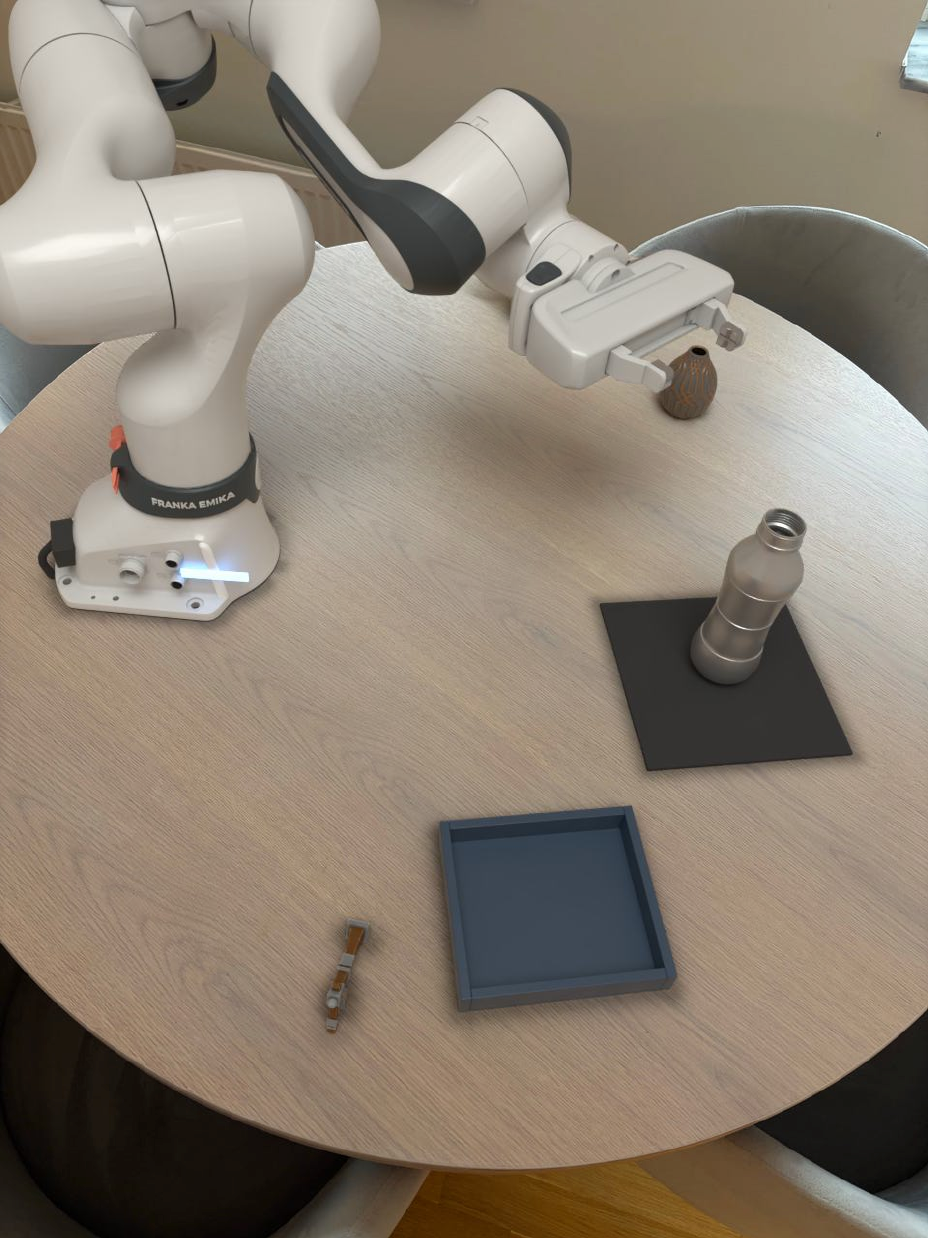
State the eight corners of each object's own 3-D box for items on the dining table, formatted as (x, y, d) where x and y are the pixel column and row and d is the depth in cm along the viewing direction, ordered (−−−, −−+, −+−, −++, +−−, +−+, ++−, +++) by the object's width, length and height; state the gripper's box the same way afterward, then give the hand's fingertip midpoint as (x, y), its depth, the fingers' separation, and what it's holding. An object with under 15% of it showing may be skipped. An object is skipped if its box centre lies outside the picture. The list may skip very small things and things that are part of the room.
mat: (647, 771, 87) (648, 769, 86) (599, 605, 99) (600, 602, 99) (851, 755, 89) (853, 753, 89) (780, 595, 102) (781, 593, 102)
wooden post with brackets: (315, 1040, 69) (319, 996, 67) (343, 958, 76) (347, 916, 74) (339, 1045, 69) (344, 1001, 67) (365, 963, 76) (370, 921, 74)
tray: (458, 1012, 72) (461, 1000, 70) (437, 836, 81) (439, 821, 79) (669, 989, 74) (678, 976, 72) (625, 820, 83) (631, 805, 81)
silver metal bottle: (699, 630, 97) (759, 485, 82) (761, 660, 95) (835, 516, 80) (674, 672, 94) (733, 528, 78) (739, 704, 92) (811, 562, 76)
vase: (707, 430, 119) (727, 372, 112) (652, 420, 120) (669, 361, 113) (709, 397, 124) (728, 339, 117) (656, 388, 124) (672, 329, 117)
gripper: (652, 280, 90) (769, 350, 84) (494, 355, 81) (613, 440, 74) (667, 216, 85) (793, 285, 79) (501, 288, 76) (629, 373, 70)
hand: (704, 361), depth 77 cm, fingers open, 8 cm apart
